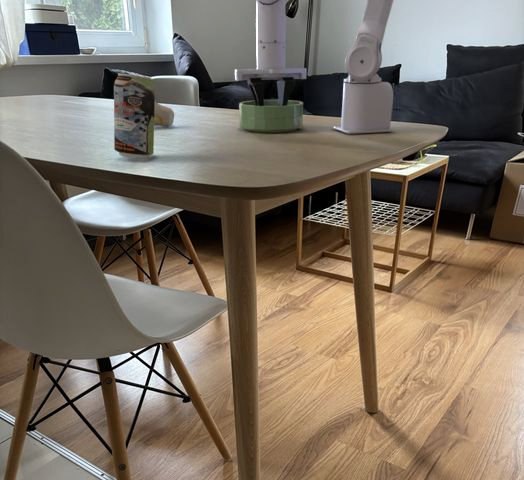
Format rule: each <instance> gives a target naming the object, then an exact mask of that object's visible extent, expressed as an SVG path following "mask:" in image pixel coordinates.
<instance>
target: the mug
mask: <svg viewBox="0 0 524 480" xmlns="http://www.w3.org/2000/svg"><path fill="white" fill-rule="evenodd" d="M174 119H175V112H174V110H173V108H171V107H169V106H166V105H165V106H164V105H162V104H160V103H158V102H157V101H155V111H154V127H164V128H169V127H171V126H173V124H174Z"/></svg>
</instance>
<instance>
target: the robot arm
mask: <svg viewBox="0 0 524 480" xmlns="http://www.w3.org/2000/svg"><path fill="white" fill-rule="evenodd" d="M286 1H287V0H256V15H255V17H256V18H255V21H256V22H255V28H256V29H255V30H256V32H255V33H256V35H255V36H256V68H242V69H241V68H235V69H234V80H235V81H236V82H239V81H240V82H241V81H242V82H243V81H246V82H247V86H248V88H249V90H250V93H251V96H252V98H253V101H255V104H256V106H264V100H265V89H266V84H265V83H264V81H266V80H269V81H270V80H277V81H276V87H277V97H278V98H277V100H278V106H285V105H287V103H288V100H290V97H291V95H292V93H293V90H294V89H295V86H296V80H307V73H308V72H307V68H305V67H286V46H287V45H286V41H287V39H286V38H287V37H286V35H287V34H286V33H287V15H286ZM393 4H394V0H366V4H365V8H364V12H363V15H362V19H361V22H360V26H359V29H358V31H357V34H356V38H355V41H354V43H353V44H352V46H351V47H350V48H349V49H348V52H347V53H346V56H345V60H344V67H345V70H346V73H347V74H348V76H347V77H346V78H343V89H342V102H341V103H342V104H341V105H342V107H341V119H340V120H341V121H340V125H335V126H333V129H334V130H336V131H339V132H341V133H345V134H350V135H353V134H354V135H355V134H369V133H390V132H392V128H391V121H392V113H393V104H394V103H393V102H394V89H393V86H392V84H391V83H390V82H388V81H382V77H380V76H379V74H378V71H379V70H380V68H381V66H382V62H383V54H382V45H383V42H384V38H385V33H386V28H387V25H388V21H389V18H390V15H391V11H392V7H393ZM264 75H275V76H264ZM276 75H277V76H276Z"/></svg>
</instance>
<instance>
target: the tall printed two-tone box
mask: <svg viewBox="0 0 524 480" xmlns="http://www.w3.org/2000/svg"><path fill="white" fill-rule="evenodd" d="M155 87H156V86H155V85H154V84H153V81H152V77H148V76H142V75H134V74H128V73H127V74H126V73H120V72H119V73H117V77H116V78H115V80H114V82H113V119H114V120H113V130H114V131H113V134H114V135H113V136H114V137H113V139H114V142H113V143H114V145H113V146H114V148H113V149H114V151H116V152H117V153H118V155H119V156H121V157H125V158H131V159H149V157H150V156H152V155H153V154H154V151H155V149H154V147H155V146H154V145H155V126H154V111H155V102H156V88H155Z"/></svg>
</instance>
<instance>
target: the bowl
mask: <svg viewBox="0 0 524 480" xmlns="http://www.w3.org/2000/svg"><path fill="white" fill-rule="evenodd" d="M269 105H274V106H269ZM238 113H239V116H238V117H239V127H240V128H241V129H245V130H246V131H248V132H253V133H261V134H262V133H263V134H266V133H267V134H271V133H272V134H274V133H275V134H276V133H288V132H294V131H296V130H297V129H300V128H302V127H303V123H304V122H303V121H304V102H303V101H301V100H293V99H291V100H290V99H289V100H288V103H287V105H285V106H278V99H264V106H256V104H255V101H254V100H246V101H241V102H239V103H238Z"/></svg>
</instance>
